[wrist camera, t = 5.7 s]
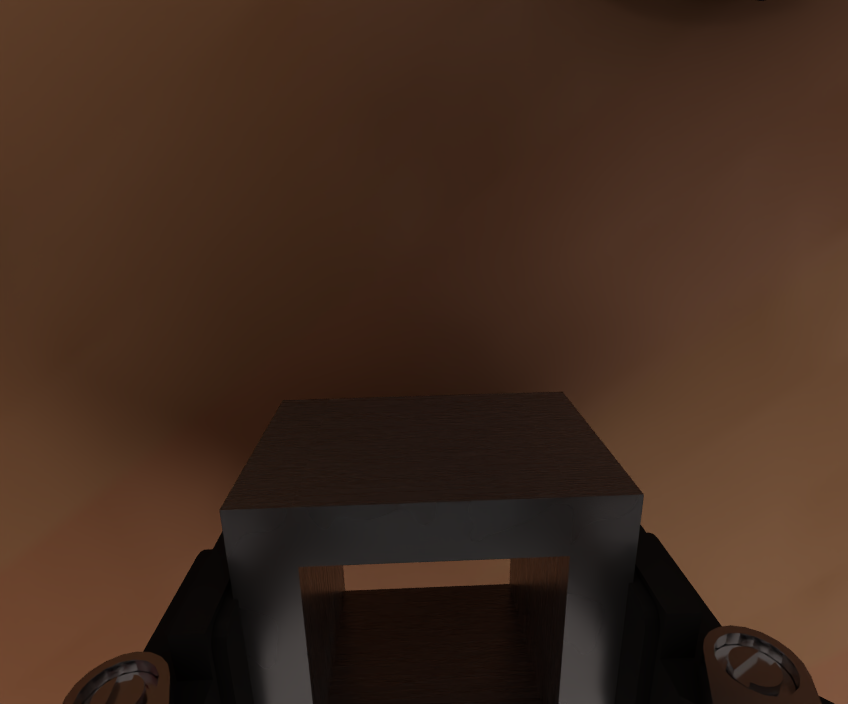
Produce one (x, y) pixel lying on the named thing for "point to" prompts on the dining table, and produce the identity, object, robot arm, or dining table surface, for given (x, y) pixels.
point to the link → (432, 551)
